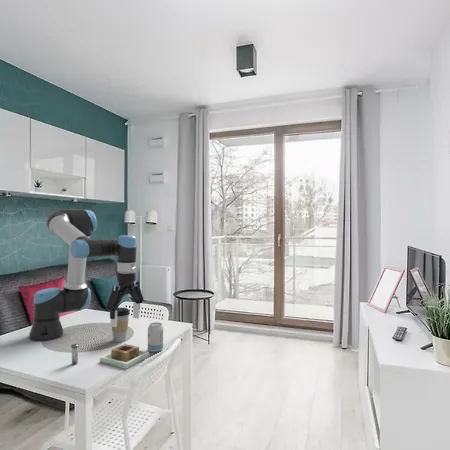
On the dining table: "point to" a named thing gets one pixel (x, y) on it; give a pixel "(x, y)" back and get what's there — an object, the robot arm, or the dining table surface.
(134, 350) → the brown rectangular frame
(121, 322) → the coffee cup
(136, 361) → the tray
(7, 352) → the dining table surface
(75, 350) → the grey round-topped rod
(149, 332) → the beverage can
